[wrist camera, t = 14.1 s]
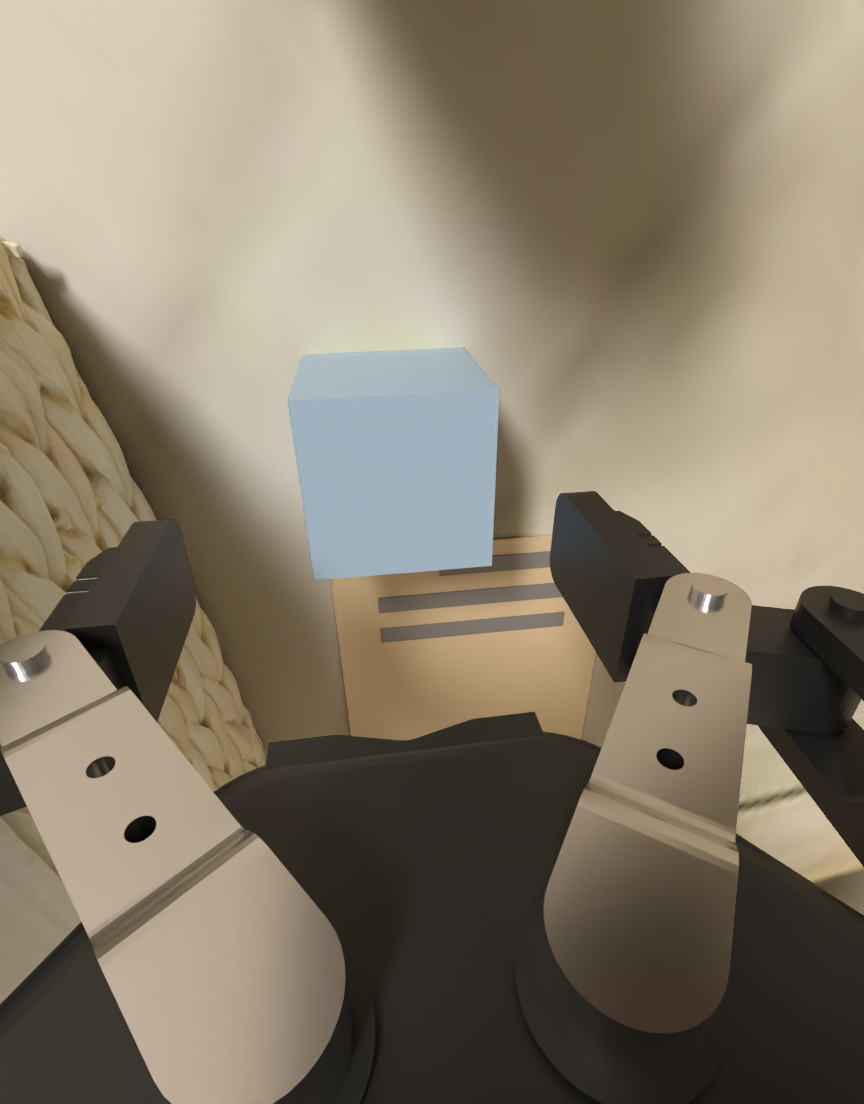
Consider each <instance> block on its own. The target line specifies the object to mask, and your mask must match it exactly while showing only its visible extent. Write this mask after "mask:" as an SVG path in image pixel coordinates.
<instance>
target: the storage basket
mask: <svg viewBox="0 0 864 1104" xmlns="http://www.w3.org/2000/svg"><path fill="white" fill-rule="evenodd" d="M23 254H24V252H23V250H22V248H21V246H20V244H16V243H12V242H7V241H6V240H5V239H3V238H2V237H1V236H0V645H1V644H3V643H5V642H7V641H9V640H12V639H14V638H17V637H20V636H22V635H26V634H29V633H34V632H38V631H39V630H40V628H41V627H42V626H43V624H44V623H45V621H46V620H47V618H48V617H49V616H50V614H51V613H52V611H53V610H54V609H55V607H56V606H57V604H58V603H59V601H60V600H61V599H62V597H63V596H64V594H67V590H68V589H69V587H70V586H71V584H72V583H73V582H74V581H76V577H77V576H78V574H79V573H80V572H81V570H82V569H83V567H84V566H85V565H86V563H87V562H88V561H90V560H91V559H93V558H94V557H95V556H97V555H98V554H100V553H101V552H103V551H104V550H105V549H107V548H112V547H118V545H119V543H120V542H121V540H122V539H123V537H124V536H125V534H126V533H127V531H128V530H129V528H130V526H131V525H132V524H133V523H134V522H142V521H157V520H156V518H155V516H154V513H153V511H152V509H151V507H150V505H149V504H148V502H147V500H146V499H145V497H144V495H143V493H142V492H141V490H140V489H139V487H138V486H137V485H136V483H135V482H134V480H133V479H132V478H131V476H130V474H129V471H128V468H127V465H126V462H125V459H124V456H123V452H122V450H121V448H120V446H119V444H118V442H117V440H116V438H115V436H114V434H113V432H112V430H111V428H110V427H109V425H108V423H107V422H106V420H105V418H104V416H103V415H102V413H101V411H100V410H99V409H98V407H97V406H96V404H95V403H94V402H93V400H92V399H91V397H90V394H89V392H88V389H87V387H86V385H85V384H84V382H83V381H82V379H81V377H80V375H79V373H78V371H77V369H76V367H75V365H74V361H73V359H72V357H71V350H70V348H69V347H68V345H67V343H66V341H65V339H64V337H63V336H62V334H61V333H60V332H59V331H58V330H57V329H56V328H55V326H54V324H53V322H52V320H51V318H50V316H49V313H48V311H47V309H46V307H45V305H44V303H43V301H42V299H41V297H40V295H39V293H38V291H37V289H36V287H35V285H34V283H33V281H32V279H31V277H30V275H29V273H28V270H27V267H26V264H25V261H24V260H23V259H22V258H21V257H23ZM157 723H158V724H159V725H160V727H161V728H162V729H163V730H164V732H165V733H166V734H167V735H168V737H169V738H170V739H171V740H172V742H173V743H174V744H175V745H176V746H177V748H178V749H179V750H180V751H181V753H182V754H183V755H184V756H185V758H186V759H187V760H188V761H189V763H190V764H191V765H192V766H193V768H194V769H195V770H196V771H197V772H198V774H199V775H200V776H201V777H202V779H203V780H204V781H205V782H206V784H207V785H208V786H209V787H210V789H211V790H212V791H213V792H214V791H216V790H217V789H219V788H220V787H221V786H223V785H224V784H226V783H228V782H230V781H231V780H233V779H235V778H237V777H239V776H240V775H243V774H245V773H247V772H249V771H252V770H254V769H256V768H259V767H262V766H264V765H265V753H264V751H263V742H262V741H261V740H260V738H259V736H258V734H257V732H256V730H255V728H254V725H253V723H252V718H251V716H250V713H249V711H248V709H247V708H246V707H245V705H244V704H243V703H242V700H241V696H240V692H239V689H238V686H237V683H236V680H235V678H234V676H233V674H232V673H231V671H230V670H229V669H228V667H227V666H226V665H225V664H224V662H223V659H222V654H221V650H220V646H219V642H218V638H217V636H216V633H215V630H214V628H213V626H212V624H211V622H210V621H209V619H208V617H207V616H206V614H205V613H204V611H203V610H202V609H201V608H200V606H199V603H198V600H197V597H196V609H195V614H194V617H193V620H192V623H191V626H190V629H189V632H188V635H187V637H186V640H185V643H184V646H183V649H182V652H181V655H180V658H179V661H178V664H177V666H176V669H175V672H174V675H173V678H172V681H171V684H170V687H169V690H168V693H167V695H166V698H165V701H164V704H163V707H162V710H161V713H160V716H159V719H158V722H157ZM80 922H81V920H80V918H79V915H78V913H77V911H76V909H75V907H74V905H73V903H72V901H71V898H70V896H69V894H68V892H67V890H66V888H65V886H64V884H63V881H62V879H61V877H60V875H59V873H58V871H57V869H56V867H55V865H54V862H53V860H52V858H51V856H50V854H49V852H48V850H47V848H46V845H45V843H44V841H43V839H42V837H41V835H40V833H39V831H38V828H37V826H36V824H35V822H34V820H33V818H32V816H31V814H30V812H29V809H28V807H24V808H21V809H19V810H16V811H13V812H10V813H8V814H5V815H2V816H0V1004H1V1003H2V1002H3V1001H4V1000H5V999H6V998H7V997H8V996H9V995H10V994H11V993H12V992H13V991H14V990H15V989H16V988H17V987H18V986H19V985H20V983H21V982H22V981H23V980H24V979H25V978H26V977H27V976H28V975H29V974H30V973H31V972H32V971H33V970H34V969H35V968H36V967H37V966H38V965H39V964H40V963H41V962H42V961H43V960H44V959H45V958H46V957H47V956H48V955H49V954H50V953H51V952H52V951H53V950H54V949H55V948H56V947H57V946H58V945H59V944H60V943H61V942H62V941H63V940H64V939H65V938H66V937H67V936H68V935H69V934H70V933H71V932H72V931H73V930H74V929H75V927H76V926H77V925H78V924H79V923H80Z"/></svg>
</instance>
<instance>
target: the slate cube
mask: <svg viewBox="0 0 864 1104" xmlns="http://www.w3.org/2000/svg"><path fill="white" fill-rule="evenodd" d="M499 392H500V390H499V388H498V387H497V386H496V385H495V384H494V383H493V381H492V380H491V379H490V378H489V377H488V375H487V374H486V373H485V372H484V371H483V369H482V368H481V367H480V366H479V365H478V363H477V362H476V361H475V360H474V359H473V358H472V356H471V355H470V354H469V353H468V352H467V350H466V349H465V348H444V349H422V350H399V351H376V352H353V353H330V354H308V355H302V356H301V360H300V363H299V366H298V369H297V373H296V376H295V379H294V382H293V385H292V389H291V392H290V395H289V398H288V406H289V413H290V419H291V426H292V433H293V440H294V447H295V454H296V460H297V467H298V474H299V481H300V488H301V495H302V501H303V508H304V515H305V522H306V529H307V535H308V542H309V549H310V556H311V563H312V570H313V576H314V580H326V579H338V578H350V577H362V576H374V575H387V574H399V573H411V572H423V571H435V570H447V569H459V568H472V567H484V566H492V551H493V528H494V506H495V483H496V460H497V437H498V415H499Z"/></svg>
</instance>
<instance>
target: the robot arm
mask: <svg viewBox="0 0 864 1104" xmlns="http://www.w3.org/2000/svg"><path fill="white" fill-rule="evenodd" d="M550 569H551V574H552V578H553V581H554V583H555V585H556V586H557V588H558V590H559V591H560V593H561V595H562V596H563V598H564V600H565V601H566V603H567V605H568V606H569V608H570V610H571V611H572V613H573V615H574V616H575V618H576V620H577V621H578V623H579V625H580V626H581V628H582V630H583V631H584V633H585V635H586V636H587V638H588V640H589V641H590V643H591V645H592V646H593V648H594V650H595V651H596V653H597V654H598V656H599V658H600V659H601V661H602V663H603V664H604V666H605V668H606V669H607V671H608V673H609V674H610V676H611V678H612V679H613V681H614V682H622V681H626V683H625V686H624V688H623V691H622V694H621V696H620V699H619V702H618V705H617V707H616V710H615V713H614V716H613V718H612V721H611V724H610V726H609V729H608V732H607V735H606V737H605V740H604V743H603V745H602V748H600V747H598V746H596V745H594V744H591V743H589V742H586V741H583V740H581V739H578V738H574V737H571V736H567V735H563V734H558V733H552V732H544V731H542V728H541V726H540V723H539V721H538V719H537V716H536V714H535V712H527V713H518V714H510V715H501V716H493V717H484V718H476V719H471V720H468V721H465V722H462V723H459V724H456V725H453V726H450V727H447V728H444V729H441V730H438V731H435V732H432V733H430V734H427V735H424V736H421V737H418V738H415V739H411V740H391V739H379V738H368V737H356V736H345V735H331V736H323V737H314V738H306V739H297V740H289V741H280V742H272V743H269V745H268V754H267V762H266V765H264V766H262V767H259V768H256V769H254V770H252V771H249V772H247V773H245V774H243V775H240V776H239V777H237V778H235V779H233V780H231V781H230V782H228V783H226V784H224V785H223V786H221V787H220V788H219V789H217V790H216V791H214V792H213V791H212V790H211V789H210V787H209V786H208V785H207V784H206V782H205V781H204V780H203V779H202V777H201V776H200V775H199V774H198V772H197V771H196V770H195V769H194V768H193V766H192V765H191V764H190V763H189V761H188V760H187V759H186V758H185V756H184V755H183V754H182V753H181V751H180V750H179V749H178V748H177V746H176V745H175V744H174V743H173V742H172V740H171V739H170V738H169V737H168V735H167V734H166V733H165V732H164V730H163V729H162V728H161V727H160V725H159V724H158V723H157V722H158V719H159V716H160V713H161V710H162V707H163V704H164V701H165V698H166V695H167V693H168V690H169V687H170V684H171V681H172V678H173V675H174V672H175V669H176V666H177V664H178V661H179V658H180V655H181V652H182V649H183V646H184V643H185V640H186V637H187V635H188V632H189V629H190V626H191V623H192V620H193V617H194V614H195V609H196V591H195V585H194V581H193V577H192V573H191V569H190V565H189V561H188V558H187V554H186V550H185V546H184V542H183V538H182V534H181V531H180V528H179V525H178V523H177V522H176V521H175V520H174V519H171V520H157V521H142V522H134V523H133V524H132V525H131V526H130V528H129V530H128V531H127V533H126V534H125V536H124V537H123V539H122V540H121V542H120V543H119V545H118V547H112V548H107V549H105V550H104V551H103V552H101V553H100V554H98V555H97V556H95V557H94V558H93V559H91V560H90V561H88V562H87V563H86V565H85V566H84V567H83V569H82V570H81V572H80V573H79V574H78V576H77V577H76V581H74V582H73V583H72V584H71V586H70V587H69V589H68V590H67V594H64V596H63V597H62V599H61V600H60V601H59V603H58V604H57V606H56V607H55V609H54V610H53V611H52V613H51V614H50V616H49V617H48V618H47V620H46V621H45V623H44V624H43V626H42V627H41V628H40V630H39V631H38V632H34V633H29V634H26V635H22V636H20V637H17V638H14V639H12V640H9V641H7V642H5V643H3V644H1V645H0V816H2V815H5V814H8V813H10V812H13V811H16V810H19V809H21V808H24V807H28V809H29V812H30V814H31V816H32V818H33V820H34V822H35V824H36V826H37V828H38V831H39V833H40V835H41V837H42V839H43V841H44V843H45V845H46V848H47V850H48V852H49V854H50V856H51V858H52V860H53V862H54V865H55V867H56V869H57V871H58V873H59V875H60V877H61V879H62V881H63V884H64V886H65V888H66V890H67V892H68V894H69V896H70V898H71V901H72V903H73V905H74V907H75V909H76V911H77V913H78V915H79V918H80V920H81V922H80V923H79V924H78V925H77V926H76V927H75V929H74V930H73V931H72V932H71V933H70V934H69V935H68V936H67V937H66V938H65V939H64V940H63V941H62V942H61V943H60V944H59V945H58V946H57V947H56V948H55V949H54V950H53V951H52V952H51V953H50V954H49V955H48V956H47V957H46V958H45V959H44V960H43V961H42V962H41V963H40V964H39V965H38V966H37V967H36V968H35V969H34V970H33V971H32V972H31V973H30V974H29V975H28V976H27V977H26V978H25V979H24V980H23V981H22V982H21V983H20V985H19V986H18V987H17V988H16V989H15V990H14V991H13V992H12V993H11V994H10V995H9V996H8V997H7V998H6V999H5V1000H4V1001H3V1002H2V1003H1V1004H0V1104H864V915H862V914H860V913H859V912H857V911H856V910H854V909H853V908H851V907H849V906H848V905H846V904H845V903H843V902H842V901H840V900H839V899H837V898H835V897H834V896H832V895H831V894H829V893H828V892H826V891H825V890H823V889H822V888H820V887H818V886H817V885H815V884H814V883H812V882H811V881H809V880H808V879H806V878H805V877H803V876H801V875H800V874H798V873H797V872H795V871H794V870H792V869H791V868H789V867H787V866H786V865H784V864H783V863H781V862H780V861H778V860H777V859H775V858H773V857H772V856H770V855H769V854H767V853H766V852H764V851H763V850H761V849H759V848H758V847H756V846H755V845H753V844H752V843H750V842H749V841H747V840H745V839H744V838H742V837H741V836H739V835H738V834H736V824H737V814H738V804H739V794H740V785H741V775H742V765H743V755H744V745H745V735H746V725H747V724H754V725H758V726H759V728H760V729H761V731H762V732H763V733H764V735H765V736H766V737H767V739H768V740H769V741H770V743H771V744H772V745H773V747H774V748H775V749H776V751H777V752H778V753H779V755H780V756H781V757H782V759H783V760H784V761H785V763H786V764H787V765H788V767H789V768H790V769H791V771H792V772H793V773H794V775H795V776H796V777H797V779H798V780H799V781H800V783H801V784H802V785H803V787H804V788H805V789H806V791H807V792H808V793H809V795H810V796H811V797H812V799H813V800H814V801H815V803H816V804H817V805H818V807H819V808H820V809H821V811H822V812H823V813H824V815H825V816H826V817H827V819H828V820H829V821H830V823H831V824H832V825H833V827H834V828H835V829H836V831H837V832H838V833H839V835H840V836H841V837H842V839H843V840H844V841H845V843H846V844H847V845H848V847H849V848H850V849H851V851H852V852H853V853H854V855H855V856H856V857H857V859H858V860H859V861H860V863H861V864H862V865H863V867H864V730H863V729H862V728H861V727H860V726H859V725H858V724H857V723H856V722H855V721H854V720H853V719H852V716H853V714H854V712H855V711H856V709H857V707H858V705H859V703H860V701H861V699H862V700H863V701H864V594H862V593H860V592H856V591H853V590H850V589H846V588H841V587H835V586H815V587H811V588H808V589H806V590H804V591H803V592H802V594H801V596H800V598H799V601H798V604H797V606H796V609H795V610H791V609H781V608H772V607H762V606H754V605H752V602H751V599H750V597H749V596H748V595H747V593H746V592H745V591H744V590H742V589H741V588H740V587H738V586H737V585H735V584H733V583H732V582H729V581H727V580H725V579H722V578H719V577H716V576H712V575H708V574H701V573H690V572H689V571H688V570H687V569H686V568H685V567H684V566H683V565H682V564H681V563H680V562H679V561H678V560H677V559H676V558H675V557H674V556H673V555H672V554H671V553H670V552H669V551H668V550H667V549H666V548H665V547H664V546H661V543H660V542H659V541H658V540H657V539H656V538H655V537H654V536H651V533H650V532H649V531H648V530H647V529H646V528H645V527H644V526H643V525H642V524H641V523H640V522H639V521H638V520H636V519H634V518H632V517H630V516H628V515H626V514H624V513H622V512H620V511H614V510H613V509H612V508H611V507H610V506H609V505H608V504H607V503H606V502H605V501H604V500H603V498H602V497H601V496H600V495H599V494H598V493H597V492H595V491H589V492H574V493H561V494H560V495H559V496H558V499H557V502H556V508H555V516H554V525H553V534H552V542H551V551H550Z"/></svg>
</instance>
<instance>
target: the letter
mask: <svg viewBox="0 0 864 1104" xmlns="http://www.w3.org/2000/svg"><path fill="white" fill-rule="evenodd" d="M551 542H552V535H545V536H532V537H519V538H506V539H493V551H492V566H484V567H472V568H459V569H447V570H435V571H423V572H411V573H399V574H387V575H374V576H362V577H350V578H338V579H331V586H332V594H333V601H334V609H335V617H336V625H337V632H338V640H339V648H340V656H341V663H342V671H343V679H344V687H345V694H346V702H347V710H348V718H349V725H350V733H351V736H356V737H368V738H379V739H391V740H411V739H415V738H418V737H421V736H424V735H427V734H430V733H432V732H435V731H438V730H441V729H444V728H447V727H450V726H453V725H456V724H459V723H462V722H465V721H468V720H471V719H476V718H484V717H493V716H501V715H510V714H518V713H527V712H535V714H536V716H537V719H538V721H539V723H540V726H541V728H542V731H544V732H552V733H558V734H563V735H567V736H571V737H574V738H578V739H581V738H582V732H583V726H584V720H585V714H586V709H587V703H588V697H589V691H590V685H591V679H592V674H593V668H594V662H595V656H596V651H595V650H594V648H593V646H592V645H591V643H590V641H589V640H588V638H587V636H586V635H585V633H584V631H583V630H582V628H581V626H580V625H579V623H578V621H577V620H576V618H575V616H574V615H573V613H572V611H571V610H570V608H569V606H568V605H567V603H566V601H565V600H564V598H563V596H562V595H561V593H560V591H559V590H558V588H557V586H556V585H555V583H554V581H553V578H552V574H551V569H550V551H551Z"/></svg>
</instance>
